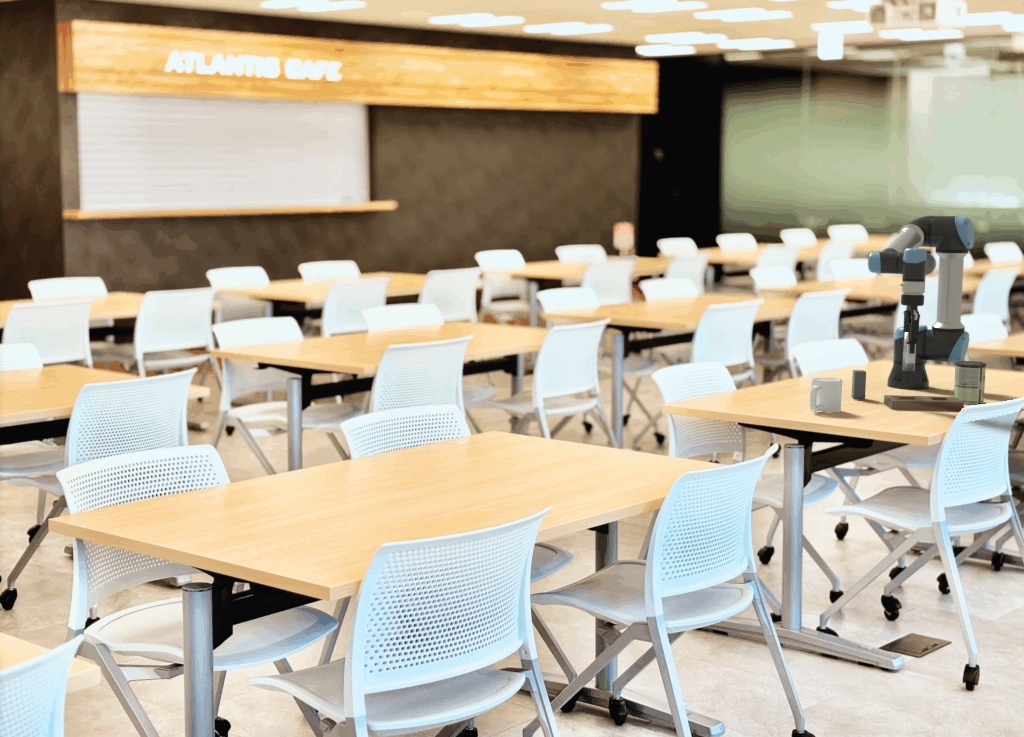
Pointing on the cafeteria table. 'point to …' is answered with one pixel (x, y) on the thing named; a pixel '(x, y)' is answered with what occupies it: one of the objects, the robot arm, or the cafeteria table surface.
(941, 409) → the socket block
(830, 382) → the mug
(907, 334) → the grey cylinder
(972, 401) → the coffee can
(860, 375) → the square bit
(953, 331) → the robot arm
